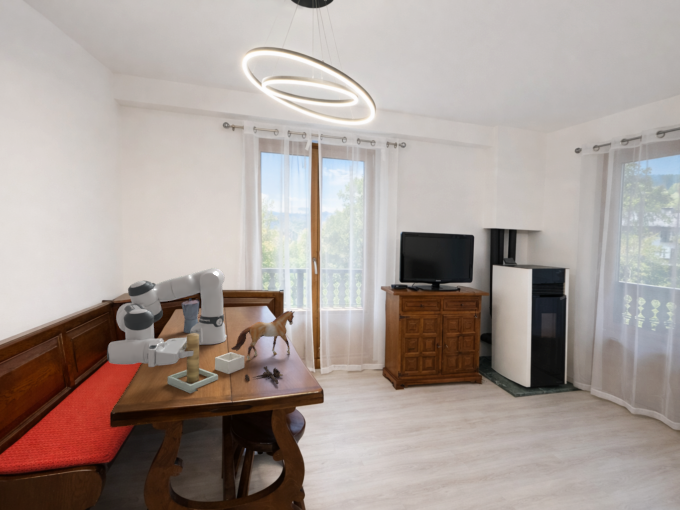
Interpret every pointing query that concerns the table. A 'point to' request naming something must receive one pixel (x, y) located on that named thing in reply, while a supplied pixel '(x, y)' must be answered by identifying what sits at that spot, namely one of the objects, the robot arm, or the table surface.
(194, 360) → the dowel
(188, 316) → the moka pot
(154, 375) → the table surface
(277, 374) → the bear figurine
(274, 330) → the horse figurine
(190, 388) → the tray
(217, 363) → the white square box
